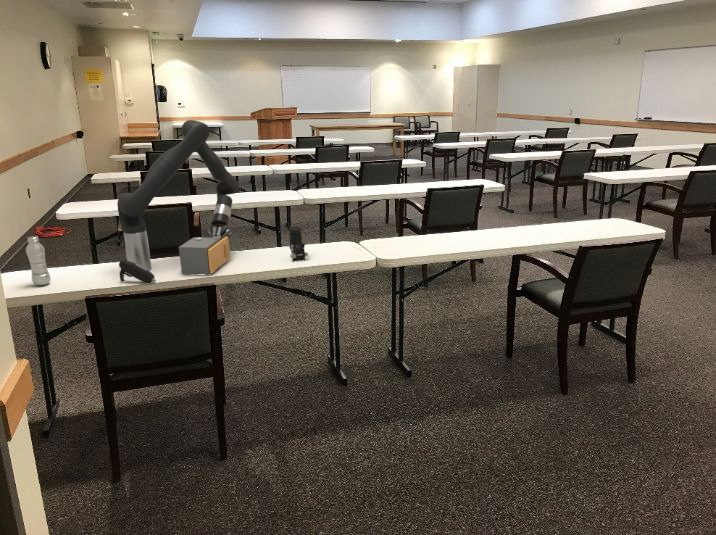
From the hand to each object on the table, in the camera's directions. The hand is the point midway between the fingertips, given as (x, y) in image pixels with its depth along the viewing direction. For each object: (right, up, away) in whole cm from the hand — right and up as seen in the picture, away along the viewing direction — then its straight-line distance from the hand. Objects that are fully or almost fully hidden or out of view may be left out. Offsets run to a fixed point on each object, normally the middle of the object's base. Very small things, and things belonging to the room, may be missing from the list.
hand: (214, 249), depth 250 cm
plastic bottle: (-63, -15, -24) cm, 70 cm away
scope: (+36, -4, +5) cm, 37 cm away
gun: (-25, -14, -23) cm, 37 cm away
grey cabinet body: (-3, -9, -8) cm, 12 cm away
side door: (+4, -7, -7) cm, 11 cm away
